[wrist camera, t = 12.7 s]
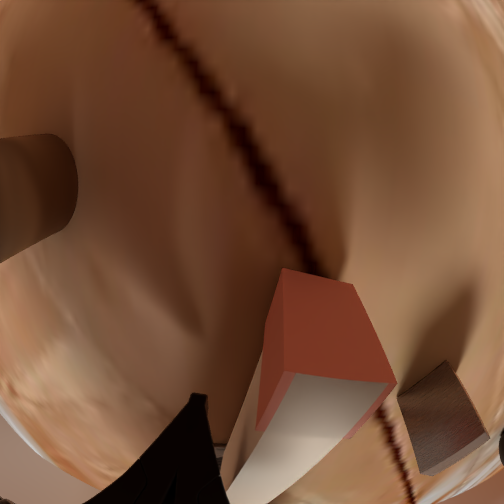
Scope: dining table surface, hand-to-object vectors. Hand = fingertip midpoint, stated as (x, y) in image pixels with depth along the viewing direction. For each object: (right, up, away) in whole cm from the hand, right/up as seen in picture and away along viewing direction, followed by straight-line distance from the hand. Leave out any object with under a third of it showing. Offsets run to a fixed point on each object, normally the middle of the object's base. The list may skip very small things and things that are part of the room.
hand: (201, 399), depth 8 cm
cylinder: (-6, +8, 0) cm, 10 cm away
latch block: (+10, -1, +2) cm, 11 cm away
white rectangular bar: (+2, -1, +2) cm, 3 cm away
